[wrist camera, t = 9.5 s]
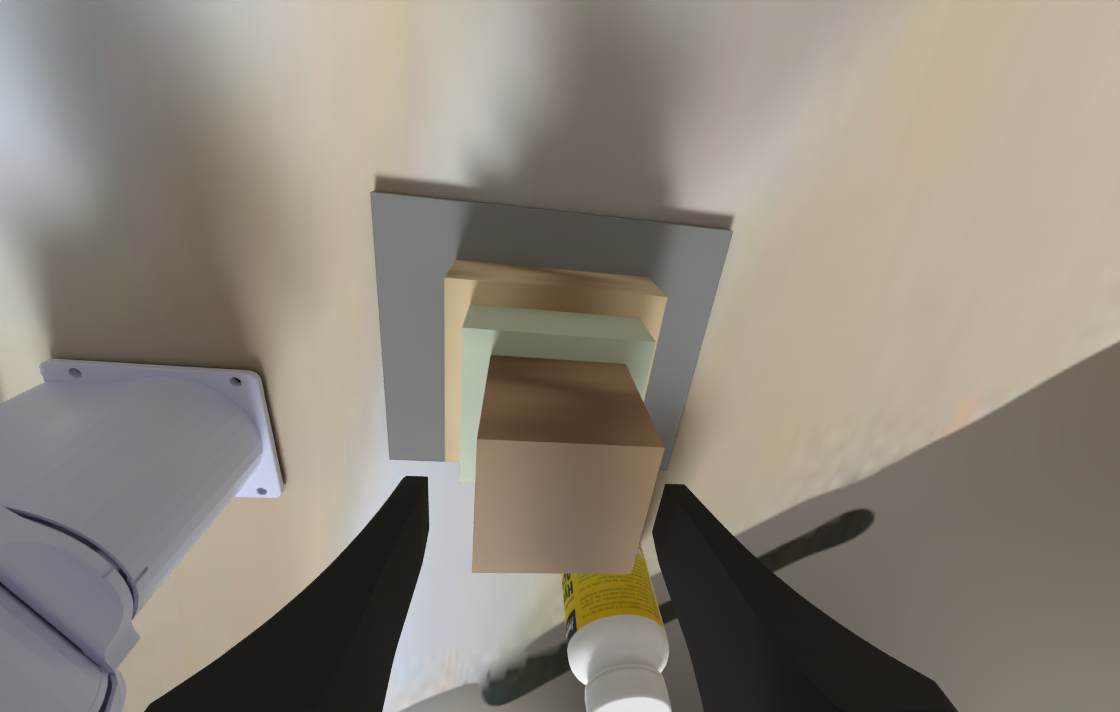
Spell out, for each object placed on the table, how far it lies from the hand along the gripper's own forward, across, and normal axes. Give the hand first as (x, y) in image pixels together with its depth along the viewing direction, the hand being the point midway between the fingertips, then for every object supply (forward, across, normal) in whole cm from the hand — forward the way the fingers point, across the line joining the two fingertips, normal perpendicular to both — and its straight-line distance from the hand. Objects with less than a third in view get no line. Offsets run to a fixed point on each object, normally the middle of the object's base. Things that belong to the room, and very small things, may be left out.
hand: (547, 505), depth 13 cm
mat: (+10, 0, 0) cm, 10 cm away
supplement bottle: (+11, -5, +14) cm, 18 cm away
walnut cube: (+4, 0, 0) cm, 4 cm away
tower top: (+7, 0, 0) cm, 7 cm away
